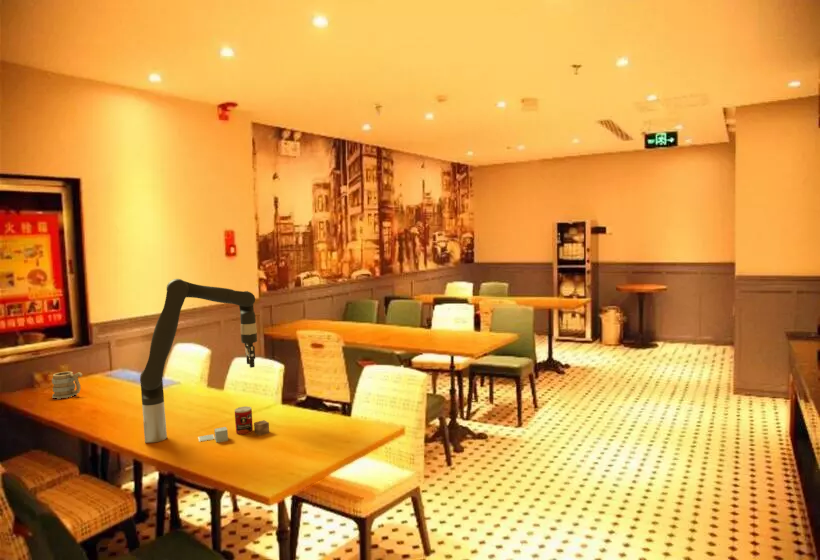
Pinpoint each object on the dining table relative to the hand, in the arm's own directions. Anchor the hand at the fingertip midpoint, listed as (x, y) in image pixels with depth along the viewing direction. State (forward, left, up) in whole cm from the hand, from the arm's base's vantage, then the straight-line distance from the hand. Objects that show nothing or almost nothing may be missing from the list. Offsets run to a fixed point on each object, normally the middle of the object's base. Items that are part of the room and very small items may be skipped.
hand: (250, 365), depth 285 cm
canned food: (-6, -11, -29) cm, 31 cm away
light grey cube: (-17, -17, -29) cm, 37 cm away
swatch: (-23, -11, -29) cm, 38 cm away
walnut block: (+1, -17, -29) cm, 33 cm away
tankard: (-90, +112, -29) cm, 147 cm away
